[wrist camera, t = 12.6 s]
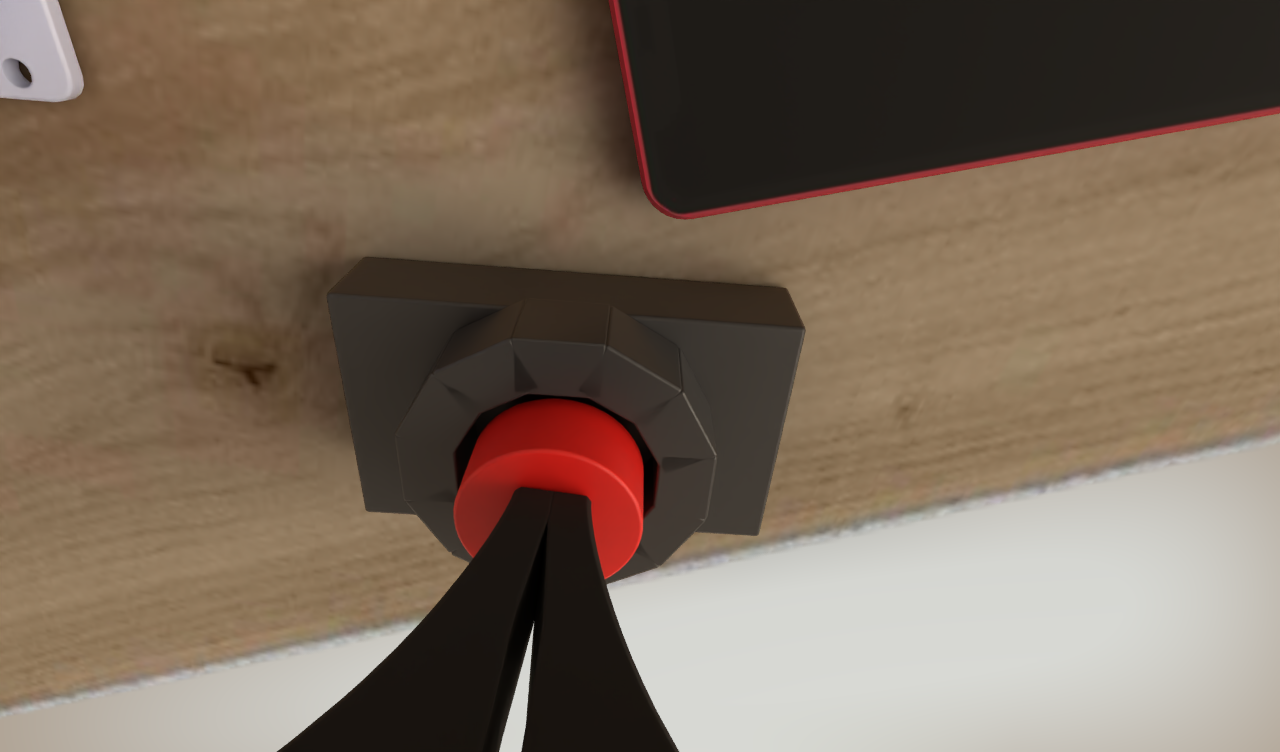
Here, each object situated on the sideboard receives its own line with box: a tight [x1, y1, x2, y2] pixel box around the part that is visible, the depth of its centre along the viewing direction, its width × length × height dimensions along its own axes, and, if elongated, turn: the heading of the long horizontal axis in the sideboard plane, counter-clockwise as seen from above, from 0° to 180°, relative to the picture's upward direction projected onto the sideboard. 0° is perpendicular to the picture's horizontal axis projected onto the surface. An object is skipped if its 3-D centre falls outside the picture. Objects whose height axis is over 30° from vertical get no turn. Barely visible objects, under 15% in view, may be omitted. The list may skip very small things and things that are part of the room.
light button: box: [453, 398, 644, 579], centre depth 13 cm, size 4×4×2 cm
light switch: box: [327, 257, 806, 584], centre depth 15 cm, size 10×6×4 cm, turn 86°
